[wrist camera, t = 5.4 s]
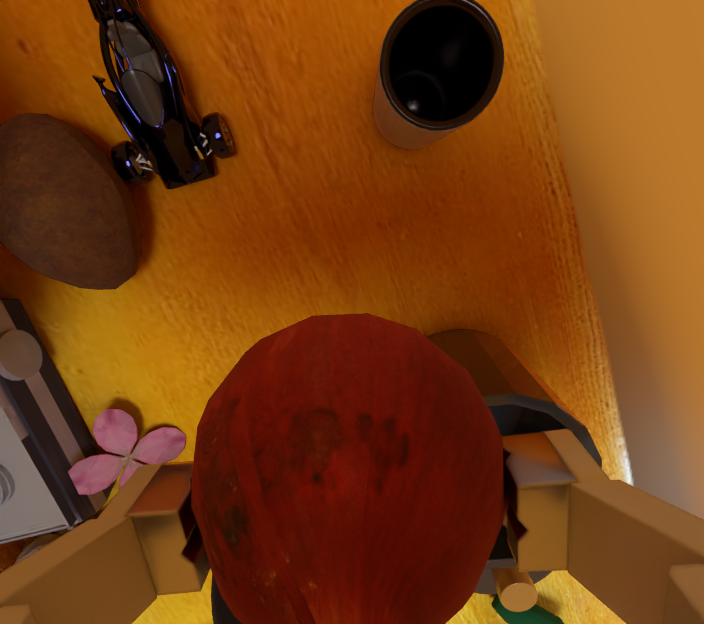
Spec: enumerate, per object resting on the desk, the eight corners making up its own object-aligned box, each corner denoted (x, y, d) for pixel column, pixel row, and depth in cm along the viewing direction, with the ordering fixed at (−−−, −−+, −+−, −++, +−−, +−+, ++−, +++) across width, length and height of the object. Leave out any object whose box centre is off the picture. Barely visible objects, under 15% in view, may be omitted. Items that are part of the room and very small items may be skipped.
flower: (203, 478, 34) (204, 484, 33) (90, 530, 31) (88, 537, 30) (166, 384, 32) (166, 387, 31) (43, 430, 29) (39, 435, 29)
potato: (93, 85, 25) (-24, 65, 19) (193, 247, 28) (119, 278, 21) (17, 147, 27) (-112, 147, 21) (115, 292, 30) (27, 332, 23)
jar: (529, 320, 29) (605, 383, 20) (532, 453, 32) (598, 560, 23) (376, 337, 30) (383, 406, 21) (392, 466, 33) (403, 576, 24)
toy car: (244, 169, 27) (225, 168, 23) (147, 198, 27) (113, 201, 24) (169, -58, 24) (133, -103, 20) (61, -19, 24) (6, -56, 20)
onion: (207, 396, 12) (-37, 745, 5) (328, 232, 11) (261, 352, 3) (370, 502, 13) (385, 934, 6) (500, 363, 12) (749, 685, 4)
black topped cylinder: (466, 99, 26) (532, 48, 16) (417, 165, 27) (449, 156, 17) (405, 47, 25) (433, -41, 15) (357, 117, 26) (354, 79, 16)
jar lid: (565, 458, 32) (610, 519, 26) (564, 576, 35) (604, 655, 29) (414, 472, 33) (426, 535, 27) (426, 587, 36) (439, 666, 30)
